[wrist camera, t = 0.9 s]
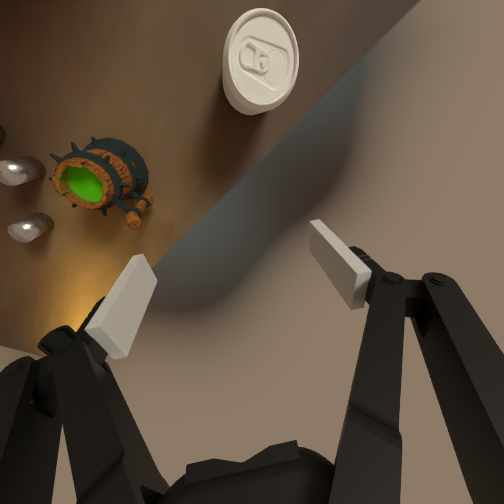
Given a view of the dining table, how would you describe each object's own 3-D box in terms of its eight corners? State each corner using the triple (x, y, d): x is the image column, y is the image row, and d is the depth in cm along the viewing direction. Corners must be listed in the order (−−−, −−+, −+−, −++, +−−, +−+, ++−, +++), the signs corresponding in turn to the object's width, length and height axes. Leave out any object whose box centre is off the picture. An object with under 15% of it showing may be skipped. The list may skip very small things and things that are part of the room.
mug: (70, 169, 33) (9, 188, 24) (103, 119, 30) (48, 116, 21) (143, 221, 39) (118, 252, 30) (176, 183, 36) (160, 203, 27)
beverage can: (264, 123, 33) (283, 122, 23) (216, 103, 31) (213, 92, 21) (284, 61, 30) (317, 28, 20) (231, 33, 27) (236, -21, 17)
